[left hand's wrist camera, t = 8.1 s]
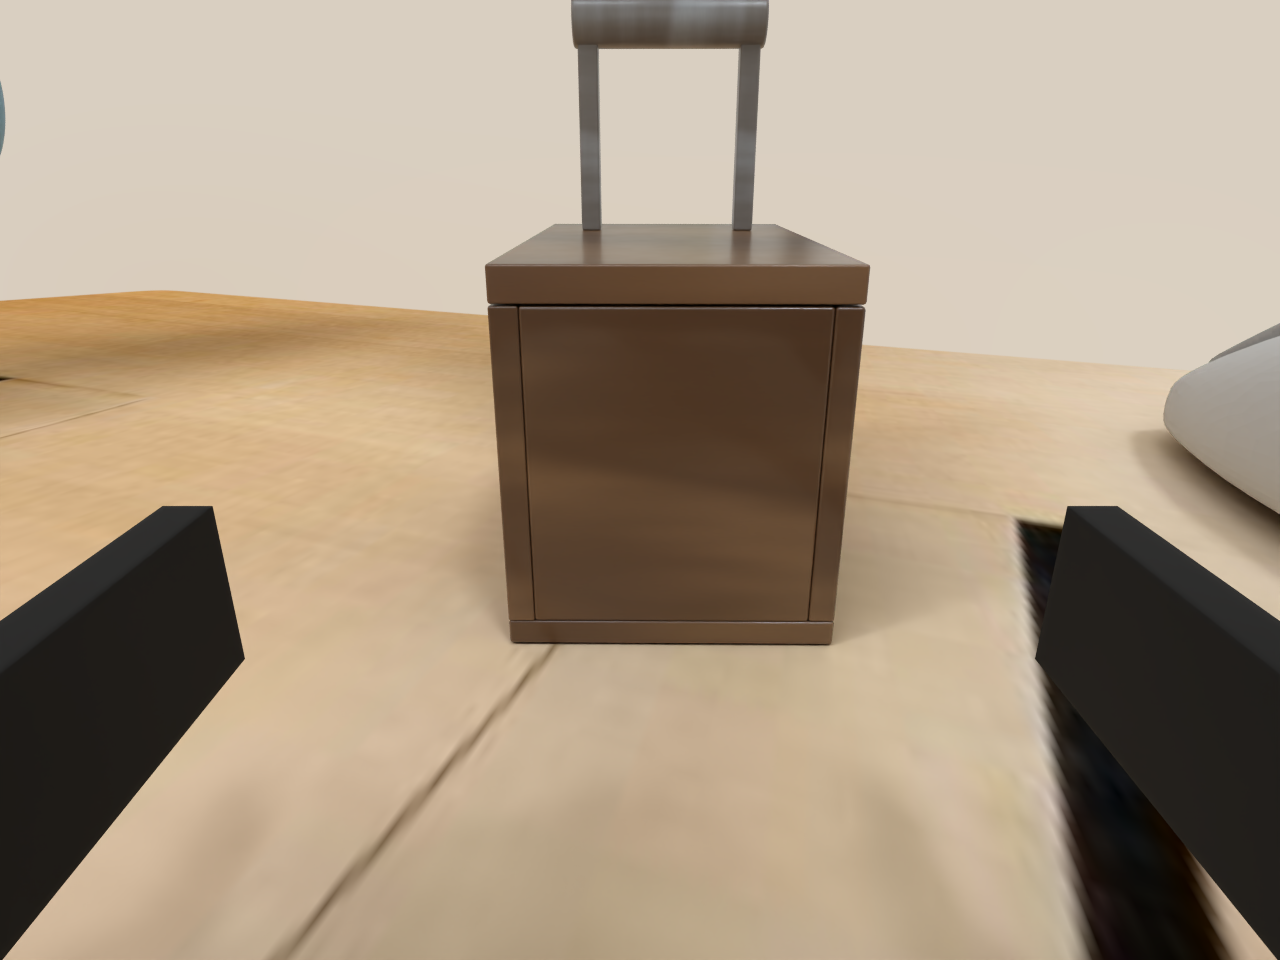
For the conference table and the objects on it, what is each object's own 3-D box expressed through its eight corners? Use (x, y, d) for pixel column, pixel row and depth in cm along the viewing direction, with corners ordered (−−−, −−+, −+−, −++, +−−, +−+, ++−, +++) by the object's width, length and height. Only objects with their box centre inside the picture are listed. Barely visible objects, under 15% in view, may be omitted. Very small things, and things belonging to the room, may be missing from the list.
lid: (554, 247, 34) (545, 10, 31) (774, 248, 34) (789, 9, 31) (487, 304, 20) (457, -128, 17) (867, 305, 20) (911, -129, 16)
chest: (560, 469, 37) (552, 250, 33) (764, 470, 37) (778, 251, 33) (510, 643, 23) (487, 306, 20) (832, 644, 23) (867, 307, 20)
